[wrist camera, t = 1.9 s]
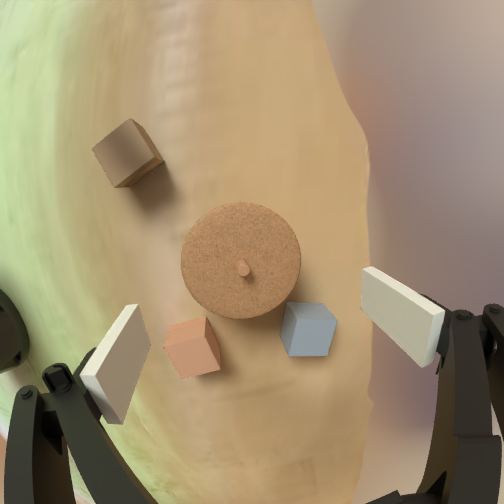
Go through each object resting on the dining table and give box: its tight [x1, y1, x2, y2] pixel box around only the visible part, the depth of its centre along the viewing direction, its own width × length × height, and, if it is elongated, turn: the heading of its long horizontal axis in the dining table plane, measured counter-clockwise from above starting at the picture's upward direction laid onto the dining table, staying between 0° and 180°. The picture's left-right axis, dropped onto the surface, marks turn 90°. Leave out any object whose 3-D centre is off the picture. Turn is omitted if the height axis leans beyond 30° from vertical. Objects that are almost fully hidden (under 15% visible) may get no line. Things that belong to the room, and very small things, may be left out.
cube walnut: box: [92, 118, 165, 188], centre depth 25 cm, size 5×5×5 cm
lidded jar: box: [181, 202, 301, 319], centre depth 27 cm, size 11×11×9 cm
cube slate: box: [280, 301, 338, 356], centre depth 32 cm, size 5×5×5 cm
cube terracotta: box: [163, 316, 220, 379], centre depth 31 cm, size 5×5×5 cm
